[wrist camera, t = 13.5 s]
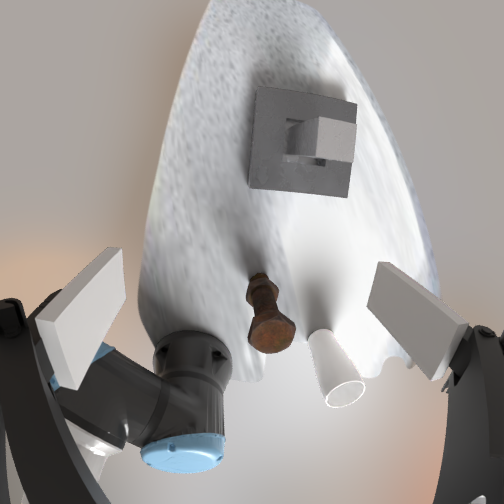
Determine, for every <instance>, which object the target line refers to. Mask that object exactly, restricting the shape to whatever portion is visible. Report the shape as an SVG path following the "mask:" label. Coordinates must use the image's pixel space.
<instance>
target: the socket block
mask: <svg viewBox="0 0 504 504" xmlns="http://www.w3.org/2000/svg"><path fill="white" fill-rule="evenodd" d="M356 115H357V104H355V103H351V102H347V101H343V100H339V99H334V98H330V97H325V96H320V95H315V94H309V93H304V92H298V91H291V90H285V89H277V88H269V87H261V86H259V87H258V89H257V91H256V99H255V110H254V121H253V132H252V143H251V154H250V166H249V178H248V186H249V188H252V189H265V190H277V191H288V192H298V193H308V194H317V195H326V196H334V197H342V198H347V197H348V190H349V182H350V175H351V167H352V163H351V162H344V161H336V160H328V159H320V158H311V157H303V156H296V155H287V154H286V150H287V140H288V129H289V127H291V126H294V125H297V124H299V123H302V122H305V121H308V120H311V119H314V118H317V117H325V118H330V119H335V120H340V121H344V122H349V123H353V124H356Z"/></svg>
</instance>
